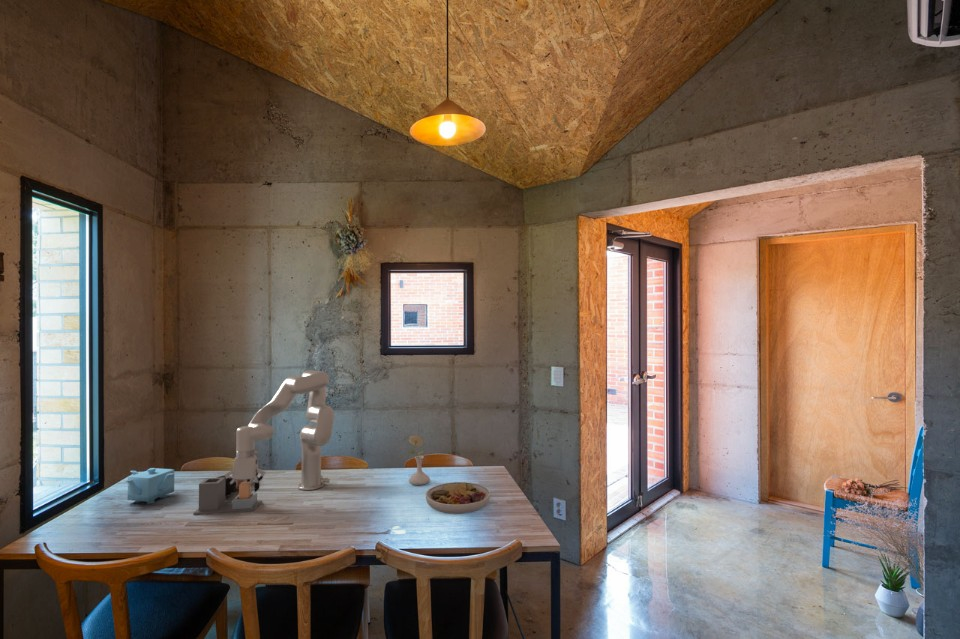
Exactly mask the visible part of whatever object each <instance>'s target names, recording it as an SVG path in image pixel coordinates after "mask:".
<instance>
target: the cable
mask: <svg viewBox="0 0 960 639" xmlns="http://www.w3.org/2000/svg"><path fill="white" fill-rule="evenodd" d="M229 476H230V475H229ZM222 477H225V474H224V475H221V476H217V477H216V478H222ZM230 477H231V478H232V479H233V477H232V475H231V476H230ZM235 482H236V490H239V485H240V484H241V483H242V482H251V484H252V483H253V482H254V480H253V479H245V480H236V481H235ZM232 494H233V493H232V491H231V484H230V483H229V482H228V481H227V479H226V477H225V498H226V497H229V496H230V495H232Z"/></svg>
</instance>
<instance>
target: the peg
mask: <svg viewBox="0 0 960 639" xmlns="http://www.w3.org/2000/svg"><path fill="white" fill-rule="evenodd" d="M251 493H252V483H251V482H242V483H241V484H240V485H239V489H238V495H239V499H247V498H250V497H251Z"/></svg>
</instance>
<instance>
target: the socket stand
mask: <svg viewBox="0 0 960 639" xmlns="http://www.w3.org/2000/svg"><path fill="white" fill-rule="evenodd" d="M262 502H263V500H262V499H260V500H259V499H258V492H253V493H252V492H251V497H250V498H247V499H239V494H237V495H236V496H235V498H233V499H232V501H227V502H226V497H225V477H222V478H217V477H207V478H205V479H204V480H202V481H201V482H200V483H198V508H197V509H196V510H195V511H194V512H193V513H192V514H193V516H201V515H202V516H203V515H217V514H232V513H233V514H235V513H247V512H248V513H249V512H255V511H256V510H257V508H259V507H260V505H261V504H262Z"/></svg>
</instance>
